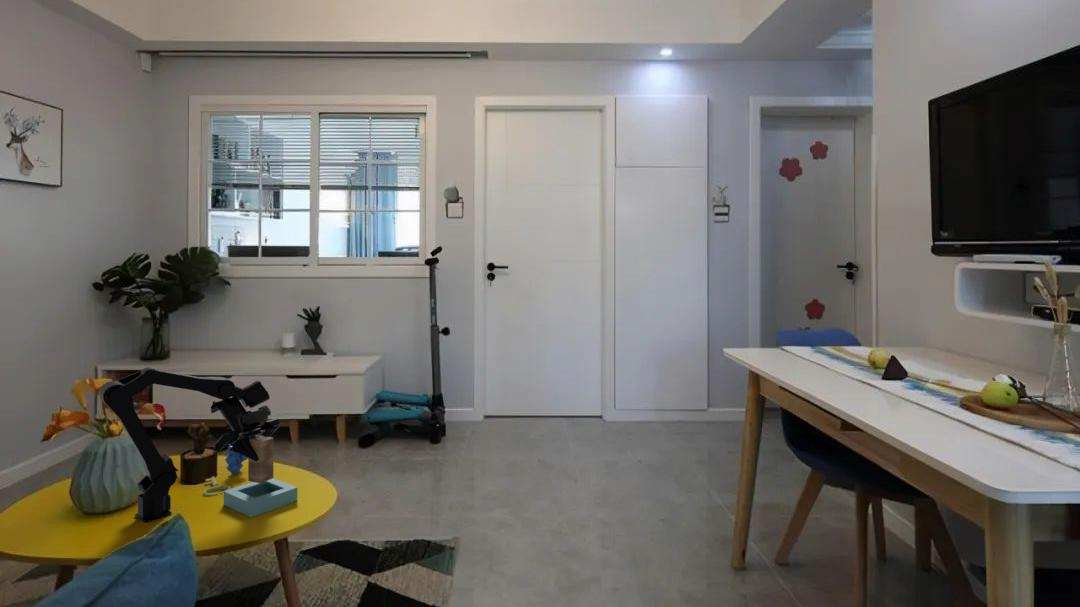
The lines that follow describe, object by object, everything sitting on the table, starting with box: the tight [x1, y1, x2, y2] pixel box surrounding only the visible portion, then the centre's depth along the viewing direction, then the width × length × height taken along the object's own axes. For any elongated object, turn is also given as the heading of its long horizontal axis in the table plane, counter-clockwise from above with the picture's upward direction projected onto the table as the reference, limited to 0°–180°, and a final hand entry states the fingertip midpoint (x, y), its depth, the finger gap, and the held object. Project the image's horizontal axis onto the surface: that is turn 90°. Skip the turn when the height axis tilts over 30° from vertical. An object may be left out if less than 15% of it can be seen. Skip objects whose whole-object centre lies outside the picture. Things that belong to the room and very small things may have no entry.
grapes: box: [224, 444, 248, 475], centre depth 182 cm, size 12×7×12 cm, turn 11°
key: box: [202, 476, 232, 497], centre depth 169 cm, size 7×12×2 cm, turn 56°
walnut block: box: [247, 436, 275, 483], centre depth 160 cm, size 5×5×12 cm
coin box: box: [223, 477, 298, 518], centre depth 161 cm, size 14×14×4 cm
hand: (264, 457), depth 159 cm, fingers closed on walnut block, 5 cm apart
